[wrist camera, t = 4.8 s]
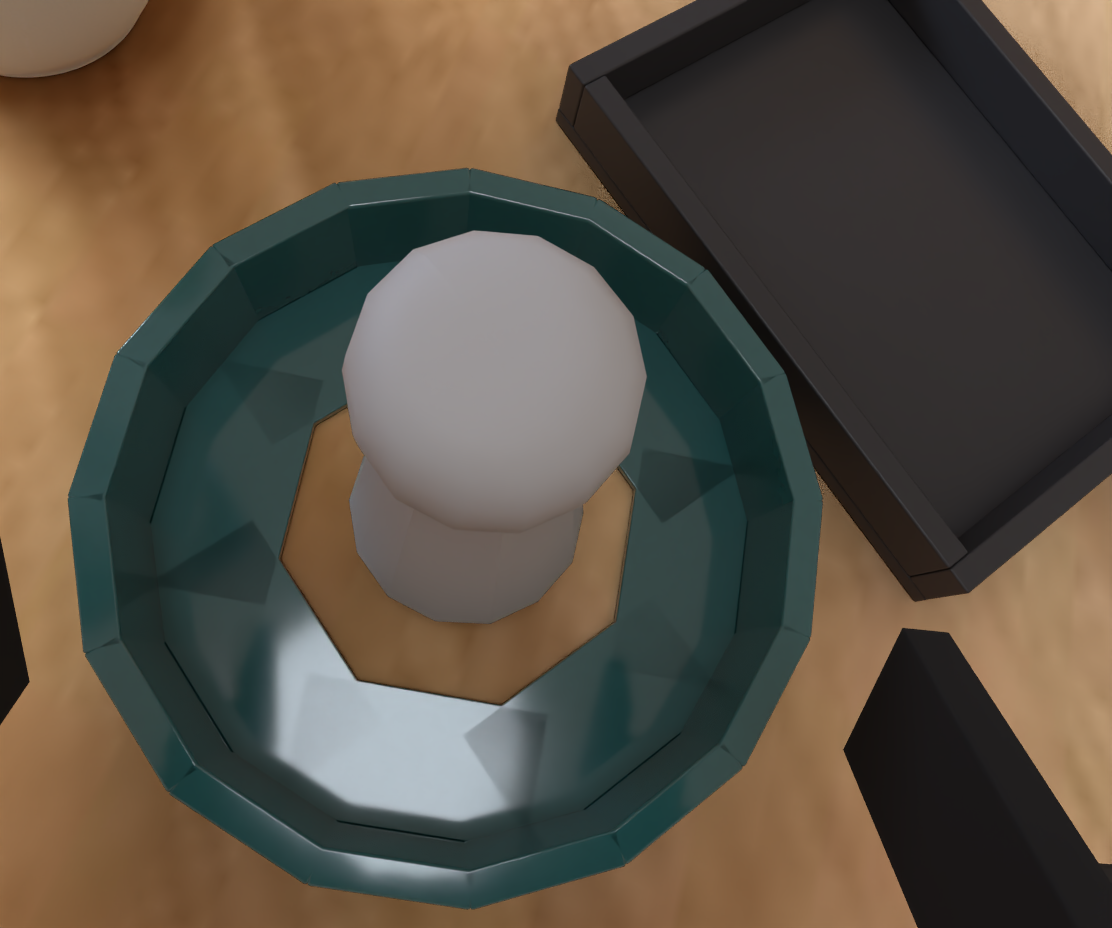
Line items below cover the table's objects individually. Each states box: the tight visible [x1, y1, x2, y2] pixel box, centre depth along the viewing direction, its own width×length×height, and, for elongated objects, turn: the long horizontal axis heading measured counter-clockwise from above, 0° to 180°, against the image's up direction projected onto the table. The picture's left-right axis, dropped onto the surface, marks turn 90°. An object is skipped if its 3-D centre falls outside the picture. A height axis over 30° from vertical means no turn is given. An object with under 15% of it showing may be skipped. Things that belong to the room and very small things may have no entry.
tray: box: [556, 0, 1112, 601], centre depth 26 cm, size 19×14×3 cm
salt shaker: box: [342, 230, 647, 624], centre depth 17 cm, size 6×6×13 cm
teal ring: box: [68, 168, 823, 910], centre depth 22 cm, size 18×18×4 cm
